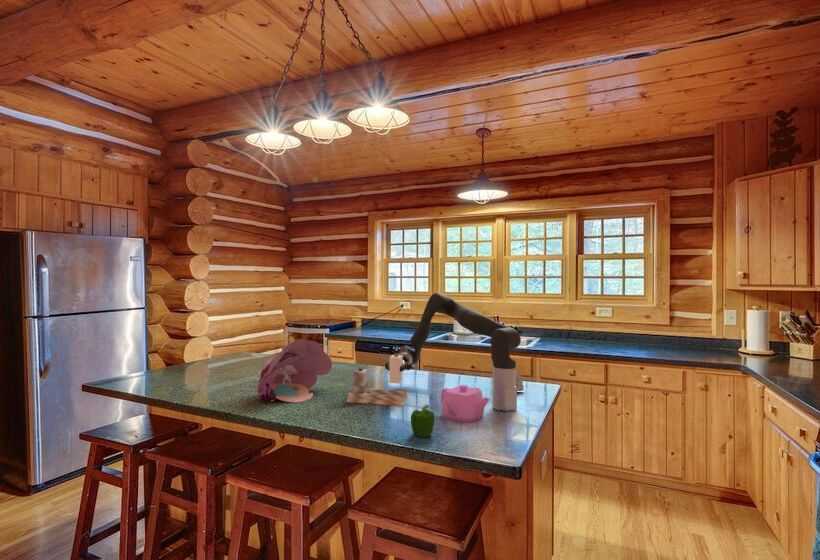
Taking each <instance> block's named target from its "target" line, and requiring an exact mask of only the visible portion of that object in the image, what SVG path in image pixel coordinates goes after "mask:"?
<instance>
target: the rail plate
mask: <svg viewBox="0 0 820 560" xmlns="http://www.w3.org/2000/svg"><path fill="white" fill-rule="evenodd" d="M368 372H369V370H368V369H364V368H363V367H359V368H357V369H356V370H354V371H353V392H348V394H347V395H348V396H347V397H348V398H347V399H346V402H347V403H358V404H368V403H370V404H369V405H371V404H373V405H386V406H400V407H403V405H404V403H406V401H407V399H408V390H398V389H397V390H396V389H381V388H368Z"/></svg>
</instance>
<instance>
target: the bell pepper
mask: <svg viewBox="0 0 820 560" xmlns="http://www.w3.org/2000/svg"><path fill="white" fill-rule="evenodd" d="M430 407H431V406H430V405H429V404H426V405H424V406H422V410H421V411H420V410H418V409H414V410H413V411H412V412H411V414H410V425H411V430H412V433H413V435H414V436H416V437H420V438H428V437H430V436H431V435H432V433H433V430H434V425H435V418H436V417H435V413H434V411H433V410H432V411H430V410H429V408H430Z"/></svg>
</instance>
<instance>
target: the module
mask: <svg viewBox="0 0 820 560" xmlns="http://www.w3.org/2000/svg"><path fill="white" fill-rule="evenodd" d="M398 354H399V353H394V354H392V355H390V356H389V363H390V364H389V371H388V373H389V375H388V377H389V379H388V383H389V384H401V383H402V381H403V371H402V372H400V366H401V365H402V364H403V355H398Z"/></svg>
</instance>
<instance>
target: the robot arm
mask: <svg viewBox="0 0 820 560" xmlns="http://www.w3.org/2000/svg"><path fill="white" fill-rule="evenodd" d="M436 313H438V314H442V315H446V316H449V317H451V318H453V319H454V320H455V321H456V322H457V323H458V324H459V325H460V326H461V327H463V328H464V329H466V330H468V331H469V332H471V333H474V334H477V335H481V336H484V337H485V336H487V337H489V338H490V355H491V356H490V357H491V360H492V409H494V408H495V410H496V409H497V411H500V410H503V411H502V412H504V411H507V412H511V411H510V410H514V411H517V410H518V405H517V404H518V393H517V387H516V373H517V369H516V368H517V362H516V360H515V359H514V358H511V355H510V351H512V350H515V349H517V348H518V347H519V346H520V344H521V342H522V341H521V340H522V338H521V336H520V333H519V332H518V331H517V330H516V329H515V328H513V327H511V326H507V325H505V324H502V323H500V322H497V321H495V320H493V319H492V318H490V317H488V316H486V315H484V314H483V313H481V312H479V311H477V310H474V309H472V308H470V307H468V306H465V305H462V304H460V303H458V301H456V300H454V299H453V298H451V297H450V296H448V295H446V294H442V293H440V292H439V293H438V292H435V293H432V294H431V295H430V296H429V298H428V301H427V303H426V305H425V308H424V310H423V313H422V315H421V318H420V321H419V323H418V326H417V327H416V329H415V331H414V332H413V334H412V336H411V338H410V340H409V344H410V345H411V346H412V347H413V348H414V349H413V348H411V347H410V346H409V345H403V346H402V347H401V348H400V350H399V352H398V353H397V354H398V355H403V364H402V365H401V366H400V372H402V373H403V372H404V371H411V370H412V369H414V368H415V365H416V364H418V362H419V360H420V356H421V352H422V349H423V346H424V344H425V343H426V341H427V339H428V338H429V336H430V332H431V322H432V319H433V318H434V316H435V315H436ZM389 364H390V361H388V360H385V361H384V368H385V370H387V371H388V372H389Z"/></svg>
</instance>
